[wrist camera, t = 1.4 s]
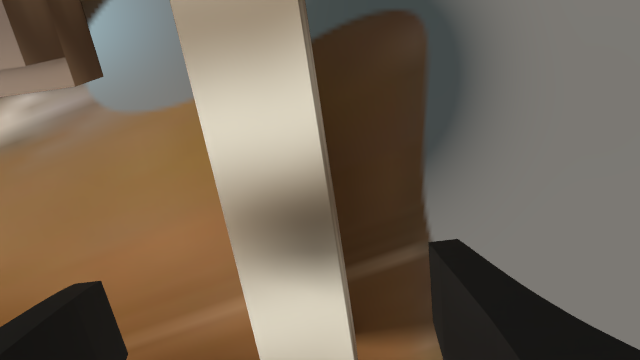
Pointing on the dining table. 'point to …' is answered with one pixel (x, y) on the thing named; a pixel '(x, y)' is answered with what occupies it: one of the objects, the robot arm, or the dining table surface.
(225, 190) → the metal bar
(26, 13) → the walnut ridge
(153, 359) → the dining table surface
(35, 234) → the dining table surface
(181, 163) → the dining table surface
